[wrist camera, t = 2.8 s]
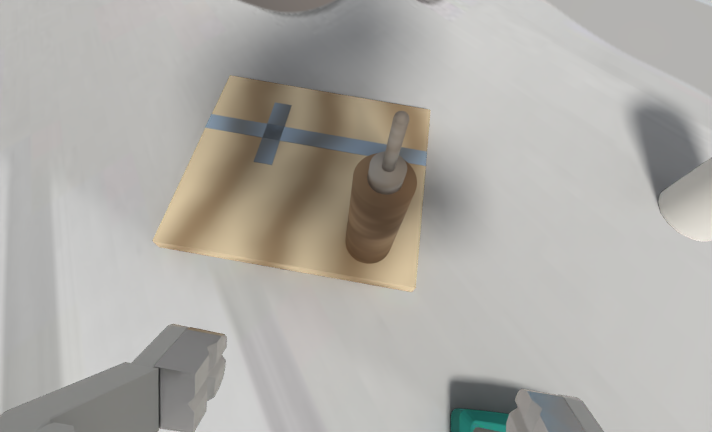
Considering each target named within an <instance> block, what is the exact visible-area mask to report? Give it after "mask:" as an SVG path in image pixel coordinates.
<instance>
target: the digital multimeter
mask: <svg viewBox="0 0 712 432" xmlns="http://www.w3.org/2000/svg"><path fill="white" fill-rule="evenodd" d="M508 416H509V414H506V413H499V412H491V411H482V410H472V409H461V408H457V409H454V410H453V411H452V413H451V432H506V422H507V419H508ZM479 427H480V428H479ZM484 428H485V429H484Z"/></svg>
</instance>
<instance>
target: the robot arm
mask: <svg viewBox="0 0 712 432" xmlns="http://www.w3.org/2000/svg"><path fill="white" fill-rule="evenodd" d="M226 347H227V337H226V335H225V334H221V333H216V332H211V331H207V330H202V329H197V328H192V327H190V328H189V327H186V326H181V325H176V324H171V325H168V326H167V327H166V328H165V329H164V330H163V331H162V332H161V333H160V334H159V335H158V336H157V337H156V338H155V339H154V340H153V341H152V342H151V343H150V344H149V345H148V346H147V347H146V348H145V349H144V350H143V351H142V353H141V354H140V355H139V356H138V357H137V358H136V359H135V360H134V361H133V362H132V363H127V362H125V363H122V364H120V365H117V366H115V367H112V368H110V369H107V370H105V371H103V372H100V373H98V374H95V375H93V376H90V377H88V378H85V379H83V380H81V381H78V382H76V383H73V384H71V385H68V386H66V387H63V388H61V389H59V390H56V391H54V392H51V393H49V394H46V395H44V396H41V397H39V398H37V399H34V400H32V401H29V402H27V403H24V404H22V405H19V406H17V407H15V408H12V409H10V410H7V411H5V412H4V413H3V414H2V415H0V432H157V431H159V428H160V429H167V430H173V431H180V432H195V430H196V428H197V426H198V425H199V423H200V421H201V419H202V418H203V416H204V414H205V412H206V407H207V401H209V400H210V399H212V398H214V397H215V395H216V393H217V391H218V389H219V387H220V384H221V382H222V379H223V376H224V371H225V363H226V360H225V359H224V357H223V356H222V354H223V352H224V350H225V349H226ZM515 402H516V404H517V408H516V409H514V410H513V411H511V412H510V413H509V416H508V419H507V422H506V432H604V431H603V430H602V428H601V427H600V425H599V424H598V422H597V421H596V420H595V418H594V417H593V415H592V414H591V412H590V411H589V410H588V408H587V407H586V405H585V404H584V402H583V401H582V400H580V399H579V398H577V397H570V396H564V395H555V394H549V393H544V392H538V391H532V390H527V389H520V390H519V391H518V393H517V395H516V397H515Z"/></svg>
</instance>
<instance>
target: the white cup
mask: <svg viewBox="0 0 712 432" xmlns="http://www.w3.org/2000/svg"><path fill="white" fill-rule="evenodd" d="M658 204H659V208H660V212H661V214H662V215H663V217H664V218H665V220H666V221H667V223H668V224H669V225H670V226H672V227H673V228H674V229H675V230H676V231H677V232H678V233H680V234H682V235H684V236H686V237H688V238H690V239H692V240H697V241H702V242H707V241H712V158H710V159H709V160H707V161H706V162H704V163H703V164H701V165H700V166H698V167H697V168H696V169H694V170H693V171H691V172H690V173H688V174H687V175H685V176H684V177H682V178H681V179H679V180H678V181H676V182H675V183H674V184H672V185H671V186H669V187H668V188H666V189H665V190H664V191H663V192H661V193H660V196H659V200H658Z"/></svg>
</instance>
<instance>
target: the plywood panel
mask: <svg viewBox="0 0 712 432" xmlns="http://www.w3.org/2000/svg"><path fill="white" fill-rule="evenodd" d="M398 111H405V112H406V113H407V114H408V115H409V123H408V126H407V130H406V133H405V136H404V140H403V143H402V146H401V150H400V153H399V155H400V156H401V157H402V158H403V159H404V160H405V161H406V162H408V163H409V164H410V166H411V167H412V168H413V170H414V172H415V174H416V177H417V188H416V191H415V193H414V196H413V198H412V200H411V203H410V205H409V207H408V210H407V212H406V214H405V216H404V219H403V221H402V223H401V226H400V228H399V230H398V233H397V235H396V237H395V240H394V242H393V244H392V247H391V249H390V251H389V253H388V255H387V256H386V257H385V258H384V259H383V260H381V261H379V262H376V263H372V264H367V263H362V262H359V261H357V260H356V259H354V258H353V257H352V256H351V255H350V254H349V252H348V250H347V248H346V243H345V240H346V231H347V223H348V214H349V206H350V198H351V189H352V181H353V173H354V170H355V167H356V166H357V164H358V163H359V162H360V161H361V160H362V159H364V158H365V157H367V156H369V155H372V154H376V153H380V152H384V151H386V146H387V142H388V138H389V134H390V130H391V125H392V121H393V117H394V115H395V113H397V112H398ZM429 121H430V110H428V109H422V108H416V107H411V106H405V105H399V104H393V103H387V102H382V101H376V100H370V99H364V98H358V97H353V96H347V95H341V94H335V93H329V92H324V91H318V90H312V89H306V88H300V87H295V86H289V85H283V84H277V83H271V82H266V81H260V80H254V79H248V78H243V77H237V76H231V75H230V76H229V78H228V81H227V83H226V85H225V87H224V89H223V91H222V93H221V96H220V98H219V100H218V102H217V104H216V106H215V108H214V110H213V113H212V114H211V116H210V118H209V120H208V123H207V125H206V127H205V130H204V132H203V134H202V136H201V138H200V140H199V142H198V145H197V147H196V149H195V151H194V153H193V155H192V157H191V160H190V162H189V164H188V166H187V168H186V170H185V172H184V174H183V177H182V179H181V181H180V183H179V185H178V187H177V189H176V192H175V194H174V196H173V198H172V200H171V202H170V204H169V206H168V209H167V211H166V213H165V215H164V217H163V219H162V221H161V224H160V226H159V228H158V230H157V232H156V234H155V236H154V238H153V242H154V243H155V244H156V245H158V246H159V247H162V248H168V249H173V250H179V251H185V252H190V253H196V254H202V255H207V256H213V257H218V258H224V259H230V260H235V261H241V262H246V263H252V264H258V265H263V266H269V267H275V268H280V269H286V270H291V271H297V272H303V273H308V274H314V275H320V276H325V277H331V278H336V279H342V280H348V281H353V282H359V283H364V284H370V285H376V286H381V287H387V288H393V289H398V290H404V291H409V292H413V290H414V289H415V288H416V277H417V265H418V253H419V241H420V229H421V217H422V205H423V193H424V181H425V169H426V158H427V145H428V133H429Z"/></svg>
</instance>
